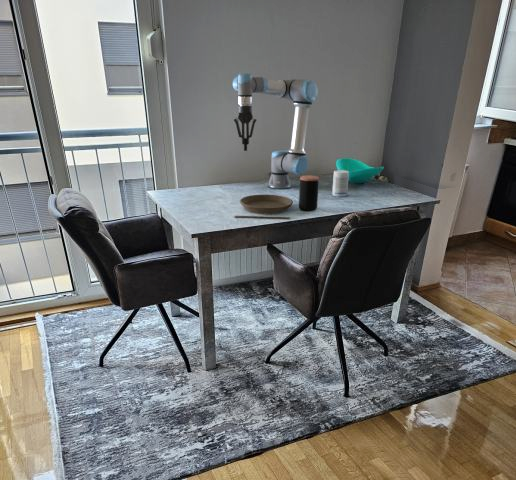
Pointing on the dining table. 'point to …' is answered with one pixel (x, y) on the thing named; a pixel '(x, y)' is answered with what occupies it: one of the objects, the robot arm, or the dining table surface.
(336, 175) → the supplement tub
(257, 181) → the dining table surface
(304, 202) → the coffee jar
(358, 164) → the table top decor
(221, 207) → the dining table surface
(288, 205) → the plant saucer
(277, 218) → the walnut ruler
